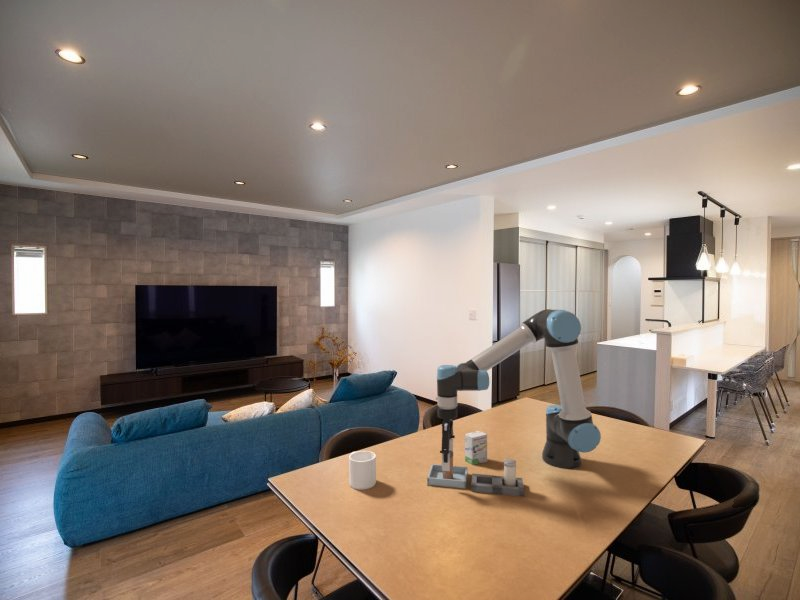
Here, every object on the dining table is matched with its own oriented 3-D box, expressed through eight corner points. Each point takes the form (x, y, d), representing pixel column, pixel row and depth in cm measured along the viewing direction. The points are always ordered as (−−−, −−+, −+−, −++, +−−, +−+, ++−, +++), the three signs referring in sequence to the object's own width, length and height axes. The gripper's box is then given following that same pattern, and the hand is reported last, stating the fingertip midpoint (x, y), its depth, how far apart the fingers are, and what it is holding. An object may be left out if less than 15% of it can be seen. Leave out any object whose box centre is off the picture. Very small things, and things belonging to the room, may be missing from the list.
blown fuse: (454, 476, 146) (453, 450, 146) (453, 481, 142) (452, 454, 142) (443, 475, 147) (442, 449, 147) (441, 480, 143) (441, 454, 143)
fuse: (515, 486, 139) (515, 459, 138) (516, 492, 134) (516, 464, 134) (503, 485, 139) (503, 458, 139) (504, 491, 135) (504, 463, 135)
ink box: (472, 466, 157) (472, 437, 157) (464, 461, 161) (464, 433, 161) (488, 461, 161) (487, 433, 161) (480, 457, 165) (479, 430, 165)
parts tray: (467, 474, 149) (467, 467, 149) (465, 489, 137) (465, 481, 137) (431, 471, 152) (431, 464, 152) (427, 486, 141) (427, 477, 141)
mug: (381, 484, 142) (380, 457, 142) (357, 493, 136) (357, 464, 136) (363, 472, 152) (363, 446, 152) (341, 479, 146) (340, 452, 146)
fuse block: (522, 485, 140) (522, 478, 140) (524, 497, 132) (524, 490, 132) (472, 480, 144) (472, 473, 144) (471, 492, 136) (471, 484, 136)
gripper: (441, 397, 158) (441, 448, 158) (432, 415, 133) (433, 476, 134) (459, 398, 156) (460, 450, 156) (454, 417, 132) (455, 478, 132)
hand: (447, 462), depth 145 cm, fingers open, 13 cm apart
